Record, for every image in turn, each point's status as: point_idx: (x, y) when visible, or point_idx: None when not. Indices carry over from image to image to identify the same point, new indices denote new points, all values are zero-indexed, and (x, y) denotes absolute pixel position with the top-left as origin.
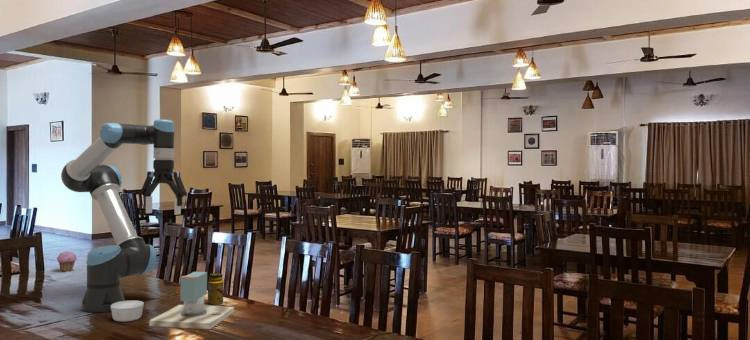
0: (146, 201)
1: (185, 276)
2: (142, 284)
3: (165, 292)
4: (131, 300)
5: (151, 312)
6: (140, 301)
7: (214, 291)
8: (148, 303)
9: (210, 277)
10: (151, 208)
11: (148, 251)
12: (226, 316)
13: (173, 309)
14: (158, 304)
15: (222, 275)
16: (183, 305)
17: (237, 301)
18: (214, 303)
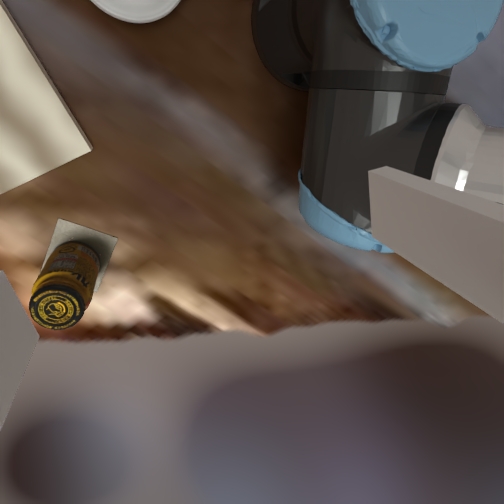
0: (474, 201)
1: None
2: None
3: (304, 250)
4: (171, 7)
5: (134, 71)
6: (127, 13)
7: (46, 265)
8: (240, 142)
9: (57, 283)
10: (396, 243)
11: (335, 202)
12: None
13: (41, 92)
14: (205, 152)
15: (38, 322)
16: (67, 150)
17: None
18: (55, 249)
